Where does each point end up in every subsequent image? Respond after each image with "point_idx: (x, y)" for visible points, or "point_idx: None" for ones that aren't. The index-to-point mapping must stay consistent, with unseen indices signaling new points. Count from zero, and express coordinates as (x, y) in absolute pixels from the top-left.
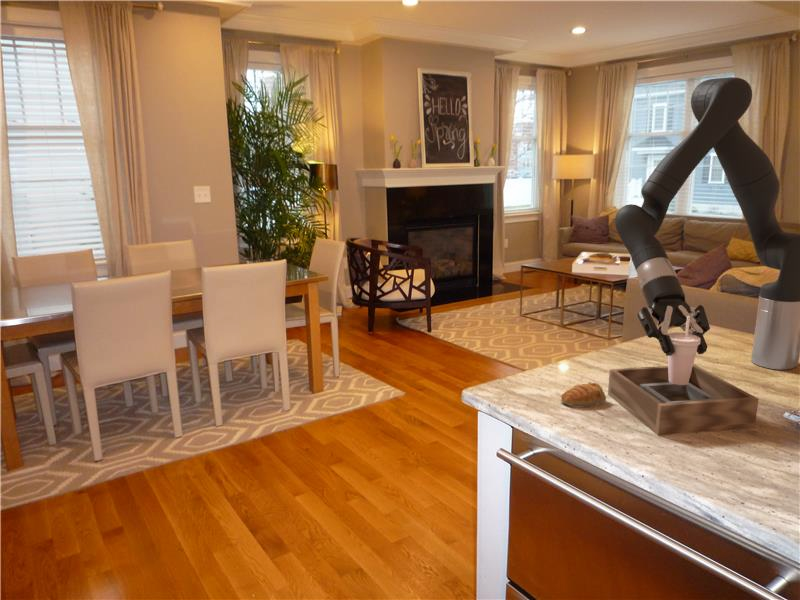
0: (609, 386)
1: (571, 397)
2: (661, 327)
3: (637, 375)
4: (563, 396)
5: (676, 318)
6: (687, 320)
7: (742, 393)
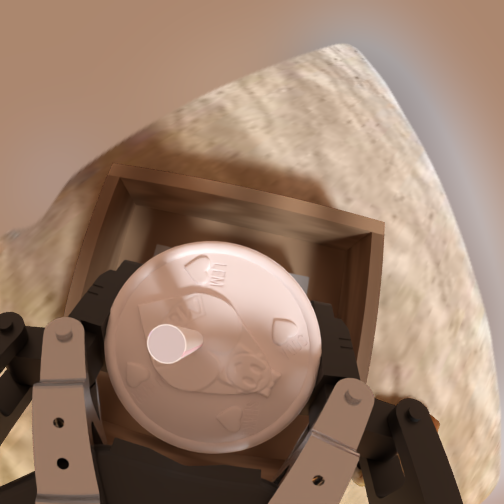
0: None
1: (435, 423)
2: (356, 440)
3: None
4: None
5: (185, 490)
6: (190, 338)
7: (109, 204)
